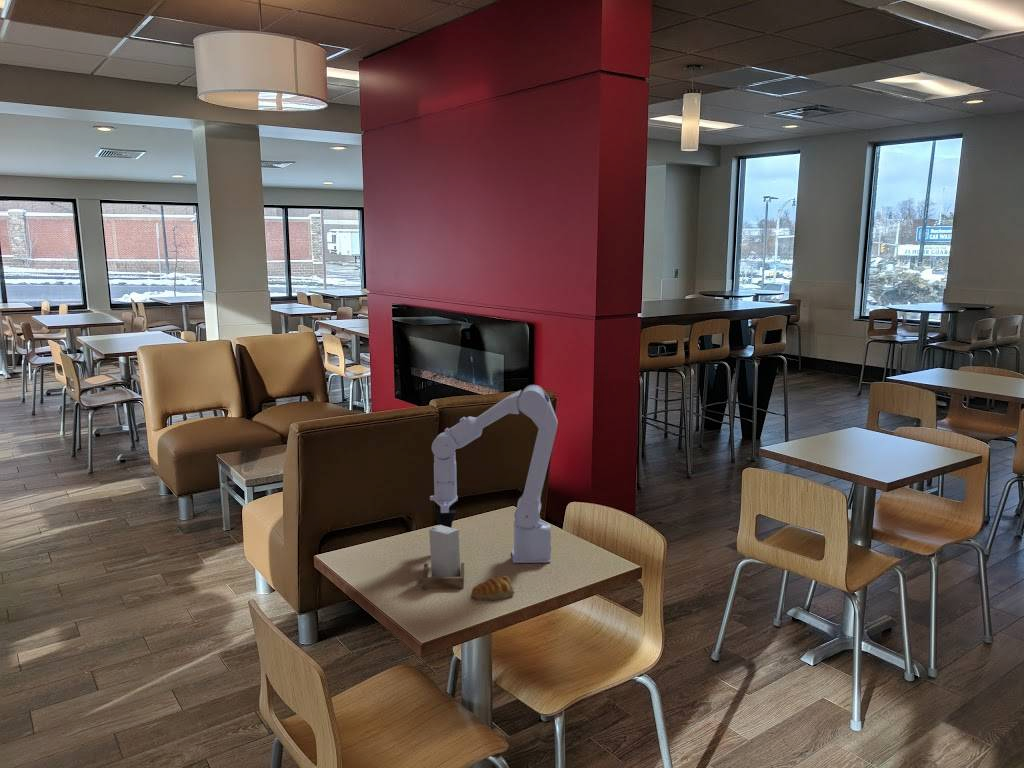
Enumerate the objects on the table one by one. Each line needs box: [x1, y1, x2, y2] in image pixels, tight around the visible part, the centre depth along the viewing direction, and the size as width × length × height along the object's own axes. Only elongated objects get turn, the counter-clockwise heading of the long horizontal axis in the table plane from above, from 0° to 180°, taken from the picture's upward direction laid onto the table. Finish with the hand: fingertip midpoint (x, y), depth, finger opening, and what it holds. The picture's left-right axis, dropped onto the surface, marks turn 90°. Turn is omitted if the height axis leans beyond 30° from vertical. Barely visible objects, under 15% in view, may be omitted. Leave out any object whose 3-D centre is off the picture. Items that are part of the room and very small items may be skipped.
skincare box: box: [428, 524, 461, 577], centre depth 177 cm, size 6×4×12 cm
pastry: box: [471, 575, 515, 601], centre depth 169 cm, size 9×7×4 cm
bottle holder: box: [421, 562, 465, 590], centre depth 176 cm, size 10×9×2 cm
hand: (446, 530), depth 191 cm, fingers open, 7 cm apart
